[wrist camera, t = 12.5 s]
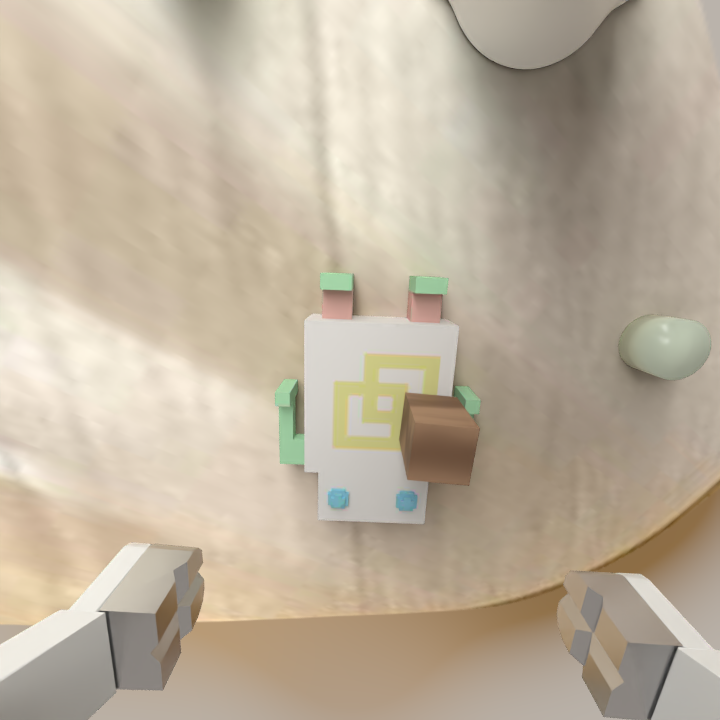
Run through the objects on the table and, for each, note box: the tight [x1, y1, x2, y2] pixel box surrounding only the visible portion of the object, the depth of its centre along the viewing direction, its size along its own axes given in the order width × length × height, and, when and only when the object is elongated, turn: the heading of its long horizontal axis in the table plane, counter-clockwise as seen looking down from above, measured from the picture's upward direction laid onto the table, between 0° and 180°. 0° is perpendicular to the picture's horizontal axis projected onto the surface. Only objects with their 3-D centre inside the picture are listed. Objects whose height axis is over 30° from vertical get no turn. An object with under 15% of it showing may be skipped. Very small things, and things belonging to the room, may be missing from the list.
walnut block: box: [399, 392, 480, 486], centre depth 31 cm, size 5×5×7 cm
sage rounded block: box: [619, 314, 711, 380], centre depth 36 cm, size 6×6×4 cm
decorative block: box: [275, 273, 481, 524], centre depth 37 cm, size 26×6×20 cm
